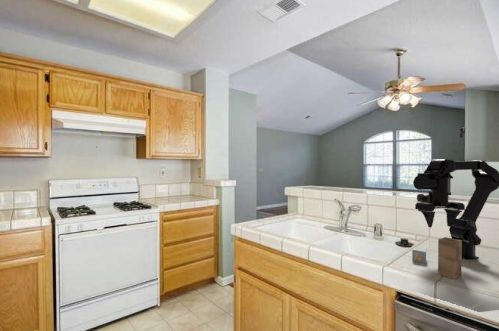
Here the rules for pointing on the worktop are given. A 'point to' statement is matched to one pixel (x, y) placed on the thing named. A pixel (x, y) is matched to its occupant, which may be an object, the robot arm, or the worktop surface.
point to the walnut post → (449, 257)
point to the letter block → (419, 254)
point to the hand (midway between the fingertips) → (439, 226)
